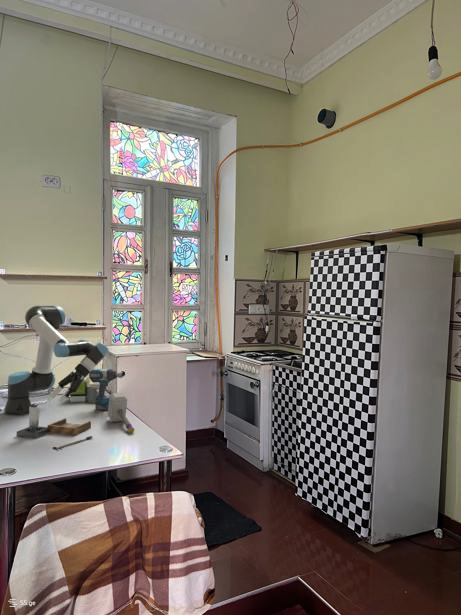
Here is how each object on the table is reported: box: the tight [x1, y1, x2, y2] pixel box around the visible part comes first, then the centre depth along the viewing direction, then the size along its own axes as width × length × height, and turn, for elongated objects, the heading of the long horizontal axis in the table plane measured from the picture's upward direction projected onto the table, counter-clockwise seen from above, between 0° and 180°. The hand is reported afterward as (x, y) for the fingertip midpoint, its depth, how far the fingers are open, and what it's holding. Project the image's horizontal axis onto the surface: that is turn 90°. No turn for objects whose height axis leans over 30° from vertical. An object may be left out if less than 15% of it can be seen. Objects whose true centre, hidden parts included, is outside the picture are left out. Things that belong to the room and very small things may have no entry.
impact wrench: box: [88, 368, 124, 411], centre depth 271 cm, size 8×23×25 cm, turn 78°
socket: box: [16, 425, 50, 440], centre depth 217 cm, size 11×11×2 cm
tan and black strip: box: [52, 435, 93, 452], centre depth 204 cm, size 21×7×1 cm, turn 145°
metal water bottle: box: [28, 403, 40, 432], centre depth 217 cm, size 4×4×15 cm
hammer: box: [107, 392, 135, 434], centre depth 234 cm, size 15×8×30 cm
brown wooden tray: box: [46, 417, 92, 436], centre depth 226 cm, size 16×14×4 cm
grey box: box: [86, 383, 100, 403], centre depth 291 cm, size 13×10×10 cm
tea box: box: [69, 375, 91, 403], centre depth 295 cm, size 15×10×15 cm
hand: (55, 399), depth 224 cm, fingers open, 13 cm apart
